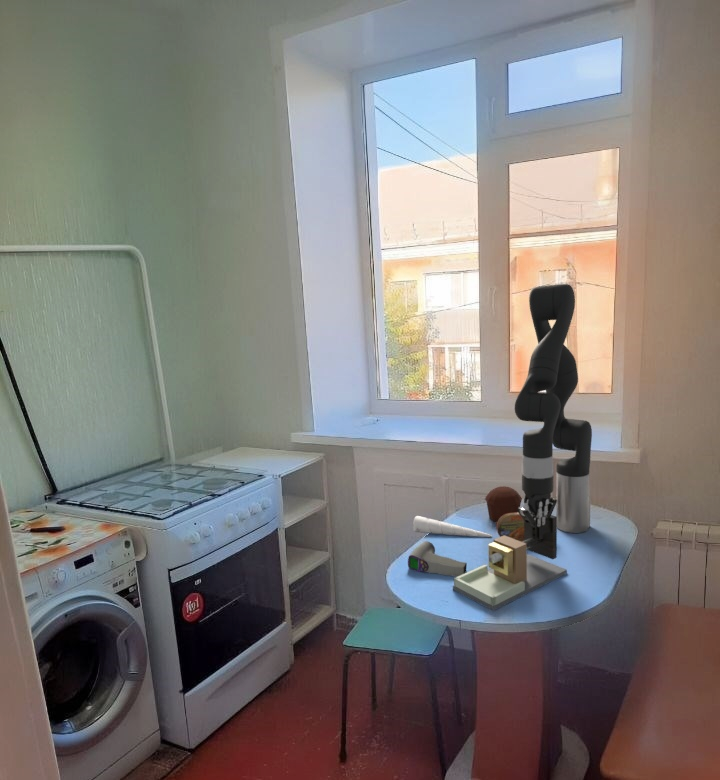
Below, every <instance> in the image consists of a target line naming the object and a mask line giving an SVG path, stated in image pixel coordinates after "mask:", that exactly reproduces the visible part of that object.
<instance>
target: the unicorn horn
mask: <svg viewBox="0 0 720 780" xmlns="http://www.w3.org/2000/svg"><path fill="white" fill-rule="evenodd" d="M412 522H413V523H412V530H413V532H414V533H424V534H434V535H435V534H436V535H448V536H460V537H461V536H463V537H466V536H468V537H476V538H477V537H480V538H491V537H493V535H491V534H489V533H486V532H483V531H480V530H479V531H478V530H476V529H475V530H474V529H472V528H469V527H465V526H464V527H463V526H461V525H456V524H453V523H449V522H446V521H439V520H437V519H433V518H428V517H425V516H420V515H415V517H414V518H413V521H412ZM431 532H432V533H431Z"/></svg>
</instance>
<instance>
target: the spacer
mask: <svg viewBox="0 0 720 780" xmlns="http://www.w3.org/2000/svg"><path fill="white" fill-rule="evenodd" d="M495 553H499V554H502V555H504V564H502V563H499V562H496V563H491V562H490V560H489V559H488V568H490V569H491V568H492V569H494V570H496V571H498V572H501V573H503V574H505V575H507V576H508V575H510V574H512V573H513V550H512V549H510V548H507V547H505V546H502V545H500V544H497V543H495V542H494V541H493V542H491V543H489V544H488V557H489V556H490V555H492V554H495Z"/></svg>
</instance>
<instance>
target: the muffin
mask: <svg viewBox="0 0 720 780" xmlns="http://www.w3.org/2000/svg"><path fill="white" fill-rule="evenodd" d="M484 500H485V502H486V505H487V506H486V508H487V512H488V517H489V519H490V520H491V521H492V522H494V523H497V522H498V520H499V518H500V517H501V516H503V515H504V514H507V513H518V511H517V510H518V508H521V503H522V500H523V497H522V496H521V494H519V493H518V491H517V490H515V489H514V488H512V487H509V486H506V485H505V486H504V485H503V486H496V487H495V488H493V489H491V490H490V491H488V494H486V496H485V498H484Z"/></svg>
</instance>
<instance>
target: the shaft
mask: <svg viewBox="0 0 720 780" xmlns="http://www.w3.org/2000/svg"><path fill="white" fill-rule="evenodd" d="M557 529H558V528H557V517H556V516H555V515H553V514H551V517H550V519H549V521H545V524H544V525H543V539H541V540H539V541H538V540H535V539H533V538H532V526H531V525H529V524H526V523H525V522H524V541H523V543H526V544H527V550H528V551H530V552H533V553H535V554H538V555H541V556H543V557H545V558H548V559H551V560H554V559H556V558H557V556H558V554H557V549H558V548H557V547H558V546H557V540H558V539H557V536H558V535H557V533H558V532H557V531H558V530H557ZM503 559H504V555H502V554H499V553H495V554H492V555H490V556H489V555H488V561H489V560H490V562H491V563H496V562H498V561H500V560H503Z"/></svg>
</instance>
